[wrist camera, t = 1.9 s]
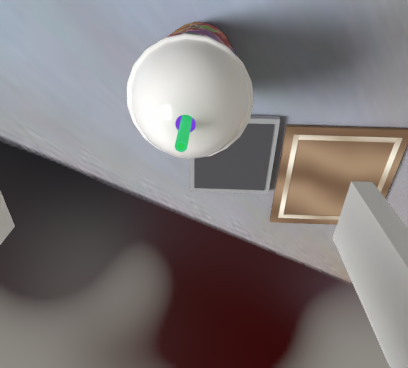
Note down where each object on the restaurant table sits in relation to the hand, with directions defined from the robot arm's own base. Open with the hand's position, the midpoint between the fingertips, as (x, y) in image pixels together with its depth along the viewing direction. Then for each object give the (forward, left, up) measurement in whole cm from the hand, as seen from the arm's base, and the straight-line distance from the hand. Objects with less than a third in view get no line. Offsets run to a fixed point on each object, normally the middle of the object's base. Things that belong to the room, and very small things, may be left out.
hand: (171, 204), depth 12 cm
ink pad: (+11, +4, -25) cm, 27 cm away
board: (+14, +17, -25) cm, 33 cm away
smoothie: (0, 0, -25) cm, 25 cm away
